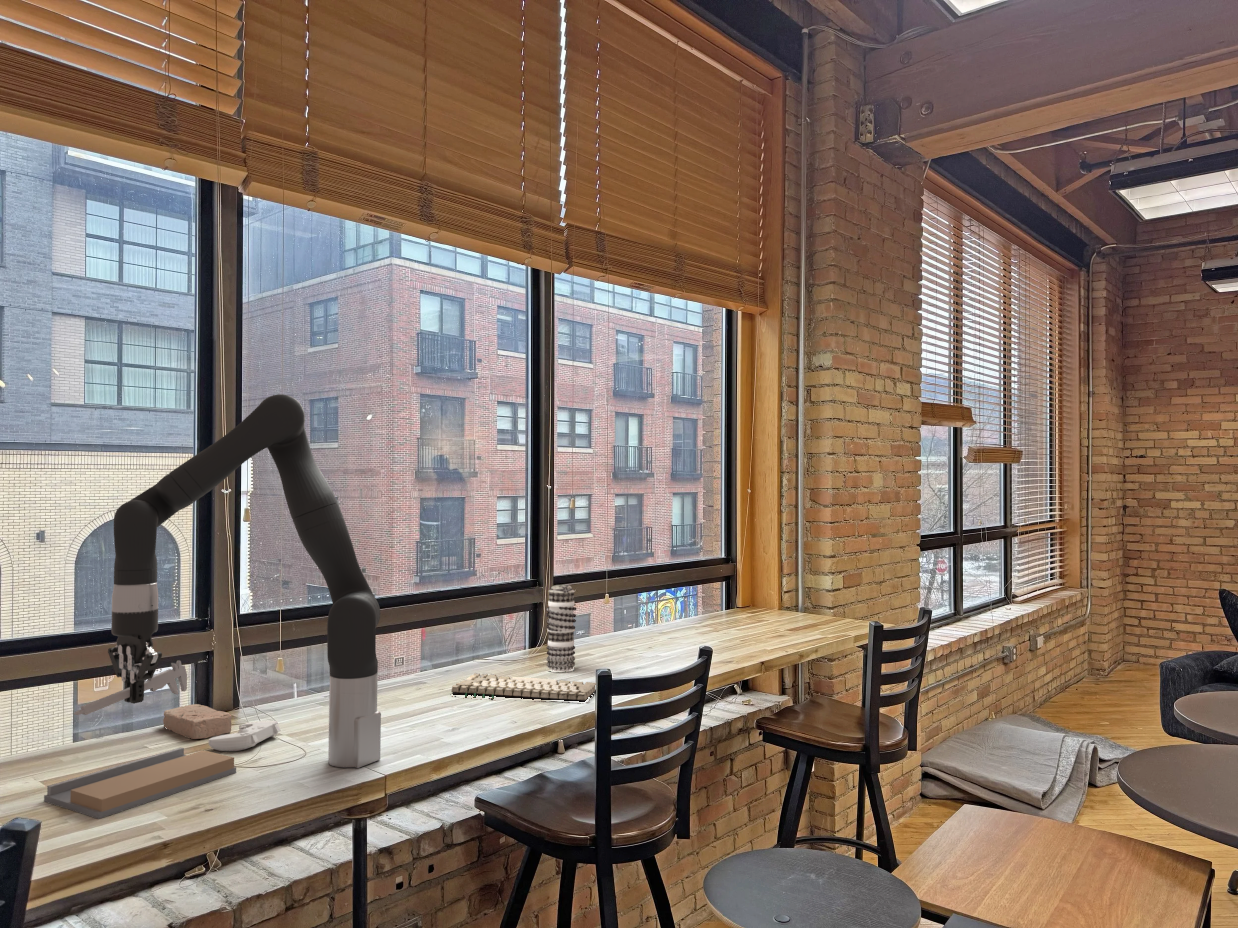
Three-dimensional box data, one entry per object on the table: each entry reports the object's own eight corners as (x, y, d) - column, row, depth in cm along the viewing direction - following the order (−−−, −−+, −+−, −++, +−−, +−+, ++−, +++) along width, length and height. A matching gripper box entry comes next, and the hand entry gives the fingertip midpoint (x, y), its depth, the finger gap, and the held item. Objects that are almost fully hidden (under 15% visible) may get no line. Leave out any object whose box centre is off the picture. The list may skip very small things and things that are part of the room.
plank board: (236, 772, 163) (236, 756, 163) (98, 818, 140) (99, 800, 141) (182, 759, 171) (183, 744, 171) (44, 801, 148) (44, 783, 148)
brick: (161, 728, 193) (161, 708, 193) (198, 720, 200) (198, 700, 200) (195, 743, 183) (195, 721, 183) (233, 734, 189) (233, 713, 189)
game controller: (244, 718, 190) (285, 711, 189) (248, 738, 190) (288, 731, 188) (201, 737, 176) (245, 729, 174) (205, 758, 176) (248, 751, 174)
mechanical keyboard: (601, 689, 234) (601, 677, 234) (586, 708, 215) (586, 694, 215) (469, 683, 241) (469, 671, 241) (444, 701, 222) (444, 687, 222)
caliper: (183, 691, 167) (183, 658, 168) (187, 692, 167) (187, 659, 167) (73, 716, 149) (74, 679, 149) (77, 716, 149) (77, 680, 149)
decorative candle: (579, 667, 259) (580, 584, 260) (571, 673, 250) (572, 588, 251) (550, 665, 262) (551, 583, 262) (541, 671, 253) (542, 586, 253)
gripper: (177, 607, 159) (175, 701, 158) (132, 602, 165) (131, 693, 165) (137, 613, 152) (136, 711, 152) (93, 607, 159) (91, 701, 158)
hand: (133, 701), depth 158 cm, fingers closed on caliper, 1 cm apart
